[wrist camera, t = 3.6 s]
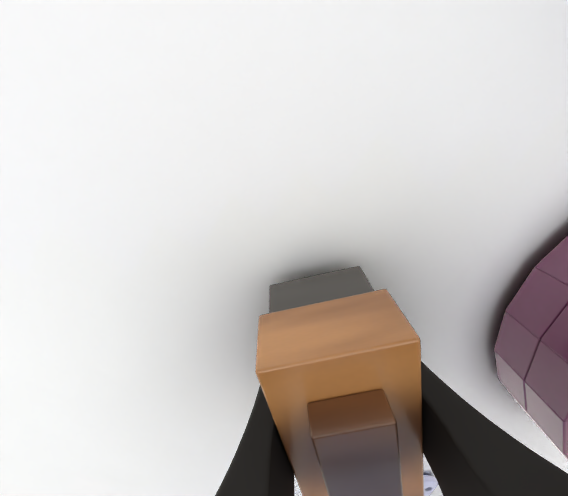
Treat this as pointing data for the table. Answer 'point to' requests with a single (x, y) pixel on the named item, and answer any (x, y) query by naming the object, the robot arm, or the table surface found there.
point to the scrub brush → (343, 385)
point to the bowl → (539, 346)
